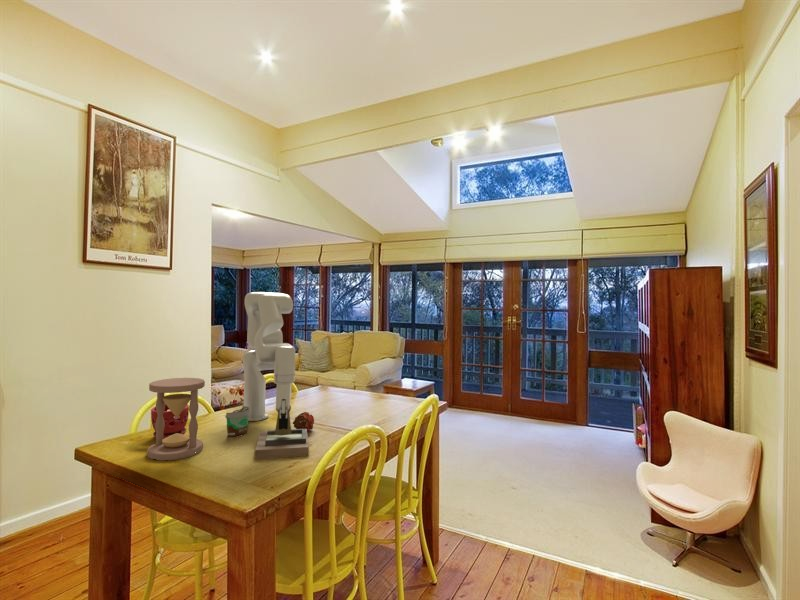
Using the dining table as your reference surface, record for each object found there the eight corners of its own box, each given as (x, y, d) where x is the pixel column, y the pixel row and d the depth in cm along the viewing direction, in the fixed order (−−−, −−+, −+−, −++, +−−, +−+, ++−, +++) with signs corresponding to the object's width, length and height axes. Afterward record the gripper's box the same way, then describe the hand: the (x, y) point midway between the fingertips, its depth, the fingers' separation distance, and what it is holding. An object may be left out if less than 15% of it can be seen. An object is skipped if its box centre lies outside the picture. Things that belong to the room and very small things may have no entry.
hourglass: (213, 447, 153) (215, 379, 153) (173, 464, 137) (175, 388, 137) (177, 441, 159) (179, 376, 159) (135, 456, 143) (137, 383, 143)
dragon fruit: (302, 439, 169) (301, 435, 180) (320, 425, 172) (317, 422, 183) (290, 422, 168) (289, 419, 180) (307, 409, 171) (305, 406, 182)
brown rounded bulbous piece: (278, 436, 151) (278, 406, 151) (272, 432, 156) (273, 403, 156) (293, 433, 155) (294, 404, 155) (288, 429, 160) (288, 401, 160)
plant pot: (148, 435, 166) (149, 405, 166) (184, 429, 174) (185, 401, 174) (152, 444, 155) (153, 412, 156) (191, 437, 163) (191, 407, 163)
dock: (260, 438, 164) (260, 427, 164) (306, 436, 168) (306, 425, 168) (255, 459, 142) (255, 445, 142) (308, 455, 147) (308, 442, 147)
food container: (239, 439, 163) (239, 413, 163) (225, 438, 164) (225, 412, 164) (256, 430, 175) (256, 406, 175) (242, 429, 176) (243, 405, 176)
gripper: (275, 375, 163) (273, 421, 163) (273, 382, 147) (271, 434, 146) (294, 374, 165) (293, 420, 164) (294, 382, 148) (293, 433, 148)
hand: (283, 426), depth 155 cm, fingers closed on brown rounded bulbous piece, 4 cm apart
